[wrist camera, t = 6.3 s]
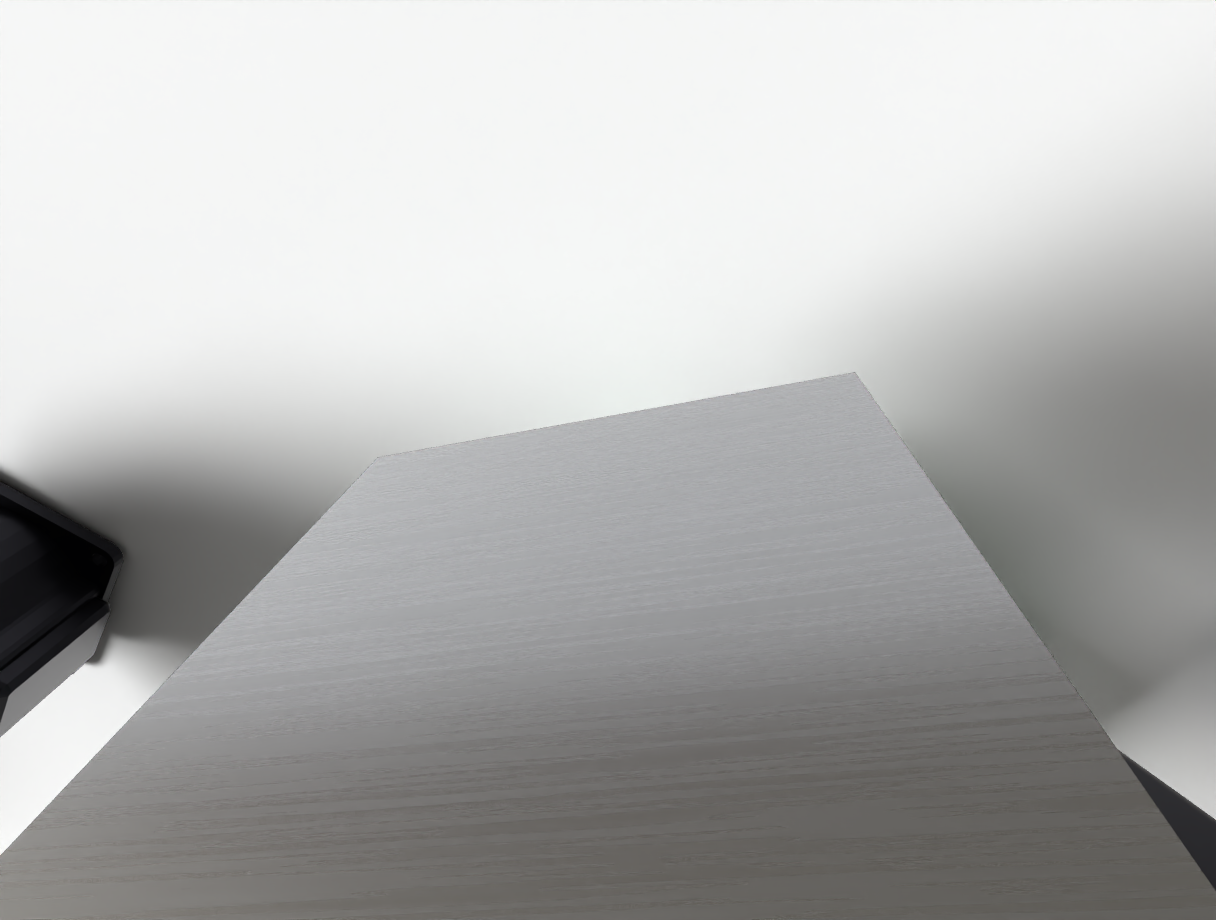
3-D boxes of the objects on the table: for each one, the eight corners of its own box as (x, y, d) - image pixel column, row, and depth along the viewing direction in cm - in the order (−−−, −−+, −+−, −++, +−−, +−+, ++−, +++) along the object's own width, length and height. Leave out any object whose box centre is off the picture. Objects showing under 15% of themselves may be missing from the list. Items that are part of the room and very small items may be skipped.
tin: (507, 782, 11) (286, 1583, 5) (377, 457, 9) (-336, 1210, 3) (888, 752, 10) (1206, 1735, 4) (854, 372, 8) (1516, 1321, 2)
